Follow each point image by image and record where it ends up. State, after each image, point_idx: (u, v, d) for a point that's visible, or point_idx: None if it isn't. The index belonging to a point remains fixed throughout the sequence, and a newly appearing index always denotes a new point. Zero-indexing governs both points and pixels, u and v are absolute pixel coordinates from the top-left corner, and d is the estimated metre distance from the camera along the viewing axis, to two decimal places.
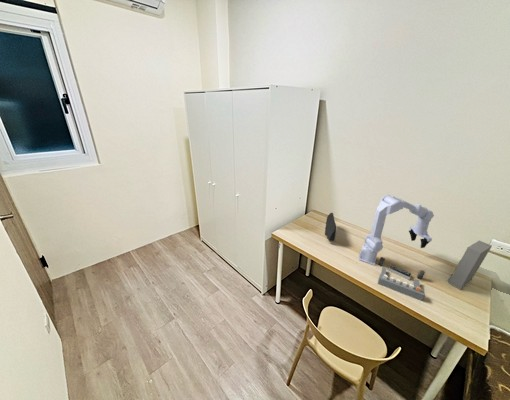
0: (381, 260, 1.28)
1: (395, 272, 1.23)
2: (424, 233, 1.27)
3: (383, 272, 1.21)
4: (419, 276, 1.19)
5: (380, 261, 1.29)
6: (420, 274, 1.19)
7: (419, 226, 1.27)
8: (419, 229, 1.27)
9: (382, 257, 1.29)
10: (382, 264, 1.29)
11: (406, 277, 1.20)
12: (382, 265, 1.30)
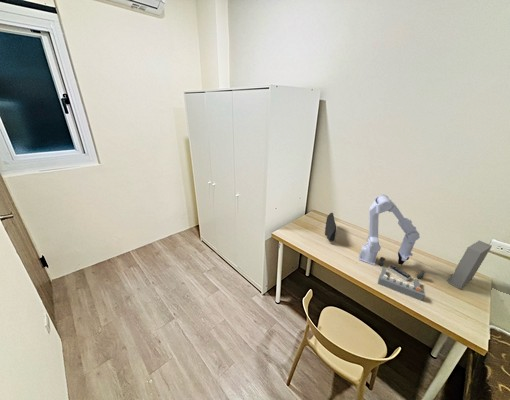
0: (381, 260, 1.28)
1: (394, 272, 1.24)
2: (405, 253, 1.23)
3: (383, 272, 1.21)
4: (419, 276, 1.19)
5: (380, 261, 1.29)
6: (420, 274, 1.19)
7: (403, 244, 1.24)
8: (401, 247, 1.25)
9: (382, 257, 1.29)
10: (382, 264, 1.29)
11: (404, 278, 1.19)
12: (382, 265, 1.30)
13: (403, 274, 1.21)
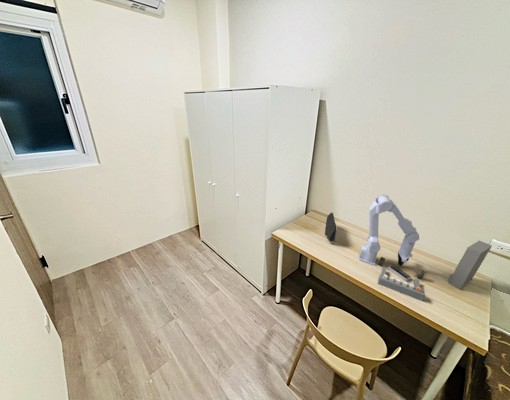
0: (381, 260, 1.28)
1: (393, 271, 1.24)
2: (404, 254, 1.23)
3: (383, 272, 1.21)
4: (419, 276, 1.19)
5: (380, 261, 1.29)
6: (420, 274, 1.19)
7: (402, 245, 1.23)
8: (401, 248, 1.24)
9: (382, 257, 1.29)
10: (382, 264, 1.29)
11: (403, 278, 1.19)
12: (382, 265, 1.30)
13: (402, 274, 1.21)
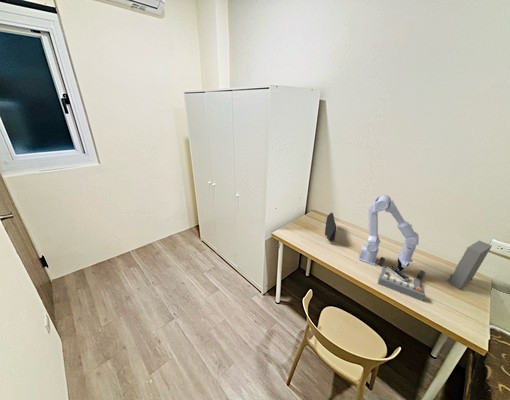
0: (381, 260, 1.28)
1: (392, 272, 1.24)
2: (404, 259, 1.19)
3: (383, 272, 1.21)
4: (419, 276, 1.19)
5: (380, 261, 1.29)
6: (420, 274, 1.19)
7: (402, 249, 1.20)
8: (401, 252, 1.20)
9: (382, 257, 1.29)
10: (382, 264, 1.29)
11: (401, 278, 1.19)
12: (382, 265, 1.30)
13: (401, 275, 1.20)
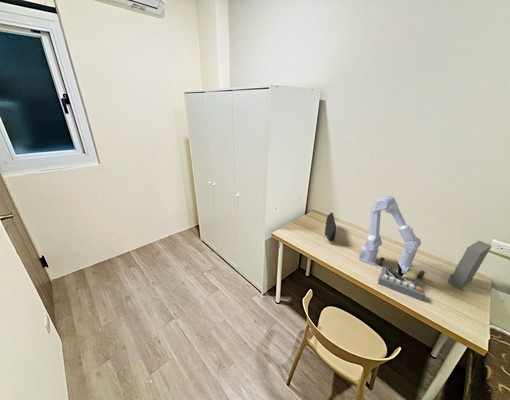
0: (381, 260, 1.28)
1: (388, 273, 1.22)
2: (405, 264, 1.15)
3: (383, 272, 1.21)
4: (419, 276, 1.19)
5: (380, 261, 1.29)
6: (420, 274, 1.19)
7: None
8: (401, 258, 1.16)
9: (382, 257, 1.29)
10: (382, 264, 1.29)
11: None
12: (382, 265, 1.30)
13: (396, 277, 1.18)
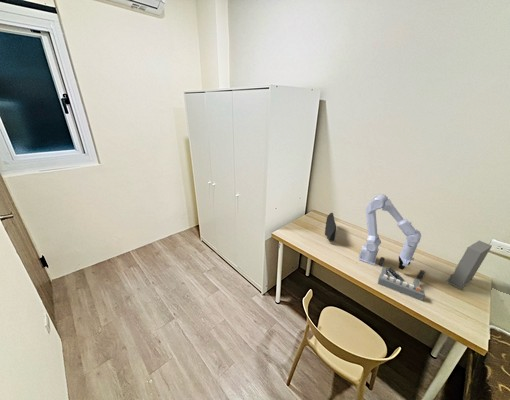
0: (381, 260, 1.28)
1: (388, 273, 1.22)
2: (406, 257, 1.16)
3: (383, 272, 1.21)
4: (419, 276, 1.19)
5: (380, 261, 1.29)
6: (420, 274, 1.19)
7: (403, 247, 1.18)
8: (402, 251, 1.18)
9: (382, 257, 1.29)
10: (382, 264, 1.29)
11: None
12: (382, 265, 1.30)
13: (396, 277, 1.19)
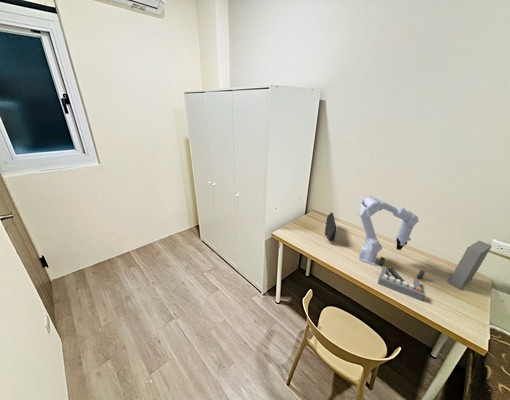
0: (381, 260, 1.28)
1: (388, 273, 1.23)
2: (403, 237, 1.24)
3: (383, 272, 1.21)
4: (419, 276, 1.19)
5: (380, 261, 1.29)
6: (420, 274, 1.19)
7: (402, 230, 1.23)
8: (399, 232, 1.25)
9: (382, 257, 1.29)
10: (382, 264, 1.29)
11: None
12: (382, 265, 1.30)
13: (396, 277, 1.19)
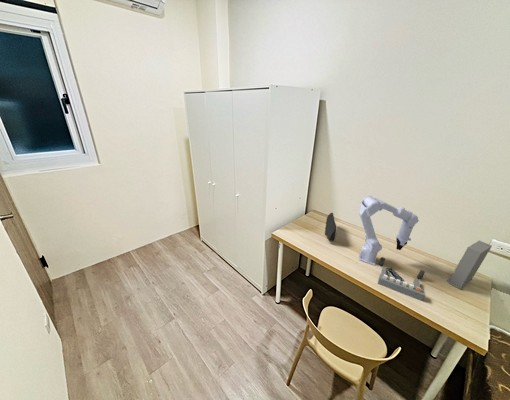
0: (381, 260, 1.28)
1: (388, 273, 1.23)
2: (403, 237, 1.24)
3: (383, 272, 1.21)
4: (419, 276, 1.19)
5: (380, 261, 1.29)
6: (420, 274, 1.19)
7: (402, 230, 1.23)
8: (399, 232, 1.25)
9: (382, 257, 1.29)
10: (382, 264, 1.29)
11: None
12: (382, 265, 1.30)
13: (396, 277, 1.19)
